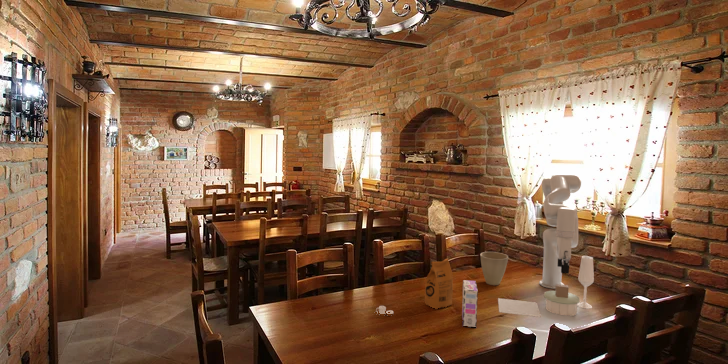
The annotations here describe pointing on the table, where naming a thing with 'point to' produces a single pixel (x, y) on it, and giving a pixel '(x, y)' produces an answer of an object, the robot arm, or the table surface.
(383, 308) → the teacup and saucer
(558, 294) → the lid
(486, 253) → the plant pot
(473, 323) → the candy box
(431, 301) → the coffee package
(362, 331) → the table surface
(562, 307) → the bowl
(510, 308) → the mat
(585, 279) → the champagne flute
